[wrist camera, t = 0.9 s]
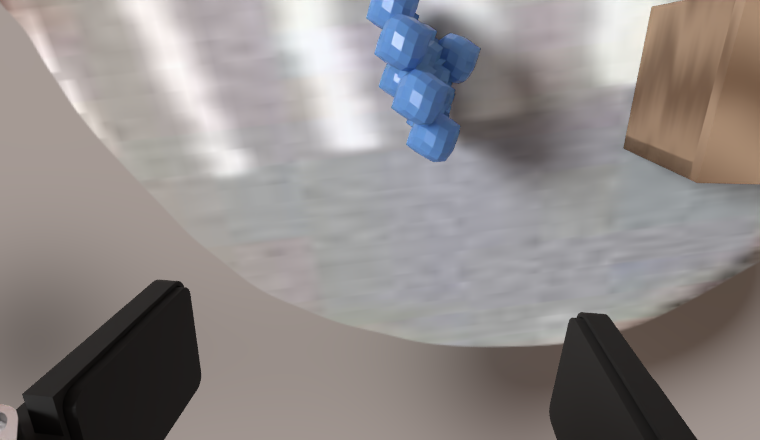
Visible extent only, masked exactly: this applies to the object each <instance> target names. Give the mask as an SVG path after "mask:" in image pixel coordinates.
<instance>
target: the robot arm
mask: <svg viewBox="0 0 760 440" xmlns="http://www.w3.org/2000/svg"><path fill="white" fill-rule="evenodd" d="M200 381H201V368H200V362H199V354H198V347H197V339H196V333H195V326H194V317H193V310H192V303H191V296H190V291H189V289H188V288H184V285H183V284H182V283H181V282H179V281H168V280H156V281H154V282H152V283H151V284H150V285H149V286H148V287H147V288H145V289H144V290H143V291H142V292H141V293H140V294H138V295H137V296H136V297H135V298H134V299H133V300H131V301H130V302H129V303H128V304H127V305H126V306H124V308H122V309H121V310H120V311H119V312H118V313H116V314H115V315H114V316H113V317H112V318H110V319H109V320H108V321H107V322H106V323H105V324H104V325H102V326H101V327H100V328H99V329H98V330H96V331H95V332H94V333H93V334H92V335H91V336H89V337H88V338H87V339H86V340H85V341H84V342H83V343H81V344H80V345H79V346H78V347H77V348H75V349H74V350H73V351H72V352H71V353H70V354H69V355H67V356H66V357H65V358H64V359H63V360H61V362H59V363H58V364H57V365H56V366H54V368H52V369H51V370H50V371H49V372H47V373H46V374H45V375H44V376H43V377H42V378H40V379H39V380H38V381H37V382H36V383H35V384H34V385H32V386H31V387H30V388H29V389H28V390H26V391H25V392H24V393H23V394H22V395H23V398H24V401H25V402H24V403H23V404H22V405H21V406H20V407H19V408H18V409H16V410H15V409H13V408H12V407H11V406H7V405H2V404H0V440H164V439H165V437H166V436H167V434H168V433H169V431H170V430H171V428H172V427H173V425H174V424H175V422H176V421H177V419H178V418H179V416H180V415H181V413H182V412H183V410H184V409H185V407H186V406H187V404H188V403H189V401H190V400H191V398H192V397H193V395H194V394H195V392H196V391H197V389H198V387H199V384H200ZM549 413H550V420H551V424H552V426H553V430H554V432H555V435H556V438H557V440H697V439H696V437H695V436H694V434H693V433H692V432H691V430H690V429H689V427H688V426H687V425H686V423H685V422H684V420H683V419H682V418H681V416H680V415H679V413H678V412H677V410H676V409H675V408H674V406H673V405H672V403H671V402H670V401H669V399H668V398H667V396H666V395H665V394H664V392H663V391H662V389H661V388H660V387H659V385H658V384H657V383H656V381H655V380H654V379H653V378H652V377H651V375H650V374H649V373H648V371H647V370H646V368H645V367H644V366H643V364H642V363H641V361H640V360H639V358H638V357H637V356H636V354H635V353H634V351H633V350H632V349H631V347H630V346H629V344H628V343H627V341H626V340H625V339H624V337H623V336H622V334H621V333H620V332H619V330H618V329H617V327H616V326H615V325H614V323H613V322H612V320H611V319H610V318H609V317H608V316H607V315H606V314H597V313H584V312H581V313H579V314H578V316H577V318H571V319H570V320H569V323H568V327H567V332H566V336H565V341H564V345H563V349H562V354H561V358H560V363H559V367H558V372H557V376H556V381H555V385H554V389H553V394H552V398H551V402H550V410H549Z"/></svg>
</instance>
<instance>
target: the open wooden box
mask: <svg viewBox="0 0 760 440" xmlns="http://www.w3.org/2000/svg"><path fill="white" fill-rule="evenodd" d="M624 149H626V150H628V151H630V152H632V153H635V154H637V155H639V156H641V157H643V158H645V159H647V160H649V161H652V162H654V163H656V164H658V165H660V166H662V167H664V168H667V169H669V170H671V171H673V172H675V173H677V174H679V175H681V176H684V177H686V178H688V179H690V180H692V181H694V182H696V183H728V184H760V0H683V1H678V2H673V3H668V4H663V5H658V6H653V7H652V8H651V13H650V18H649V23H648V28H647V33H646V38H645V43H644V48H643V53H642V58H641V63H640V68H639V73H638V78H637V83H636V88H635V93H634V98H633V103H632V108H631V113H630V118H629V123H628V128H627V133H626V138H625V143H624Z"/></svg>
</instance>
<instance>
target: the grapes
mask: <svg viewBox="0 0 760 440" xmlns="http://www.w3.org/2000/svg"><path fill="white" fill-rule="evenodd" d="M418 3H419V0H371V2H370V5H369V9H368V13H367V17H366V18H367V19H368V20H369V21H371V22H372V23H374V24H375V25H376V26H378V27H379V28H381V29H382V31H381V34H380V37H379V39H378V42H377V46H376V50H375V55H376V56H378V57H379V58H380V59H382V60H383V61H384V62H386V63H387V65H386V67H385V70H384V72H383V75H382V77H381V81H380V85H379V87H380V88H381V89H382V90H384V91H385V92H386V93H388V94H389V95H391V96H393V97H394V100H393V104H392V107H391V108H392V109H394V110H395V111H396V112H397V113H399V114H400V115H402V116H403V117H405V118H407V122H406V123H407V124H409V125H410V126H411V127H412V128H411V131H410V133H409V137H408V140H407V143H406V145H407V146H409V147H410V148H411V149H412V150H414V151H415V152H417V153H418V154H420V155H422V156H424V157H425V158H427V159H429V160H430V161H433V162H441V161H446V159H447V158H448V157H449V156H450V154H451V153H452V151H453V150H454V147H455V144H456V141H457V138H458V135H459V132H460V130H459V129H460V125H459V124H457V123H456V122H455V121H453V120H452V119H450V118H449V113H450V110H451V106H450V105H451V104H452V101H453V99H454V96H455V93H454V92H455V89H453V88H452V87H451V85H452V83H458V84H459V83H461V82H464V81H466V79H467V78H468V77H469V76H470V74H471V73H472V71H473V69H474V67H475V64H476V62H477V59H478V56H479V53H480V50H481V48H479V47H478V46H476V45H475V44H474V43H472V42H471V41H469V40H468V39H467V38H465V37H463V36H459V35H456V34H452V33H449V34H447V35H445V36H444V37H443V38H442V39H440V40H438V39H437V38H435V36H436V33H437V31H436V30H435V29H433V28H432V27H430V26H429V25H427V24H424V23H421V22H419V21H418V18H419V15H417V14H416V13H415V12H416V9H417V7H418Z"/></svg>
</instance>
